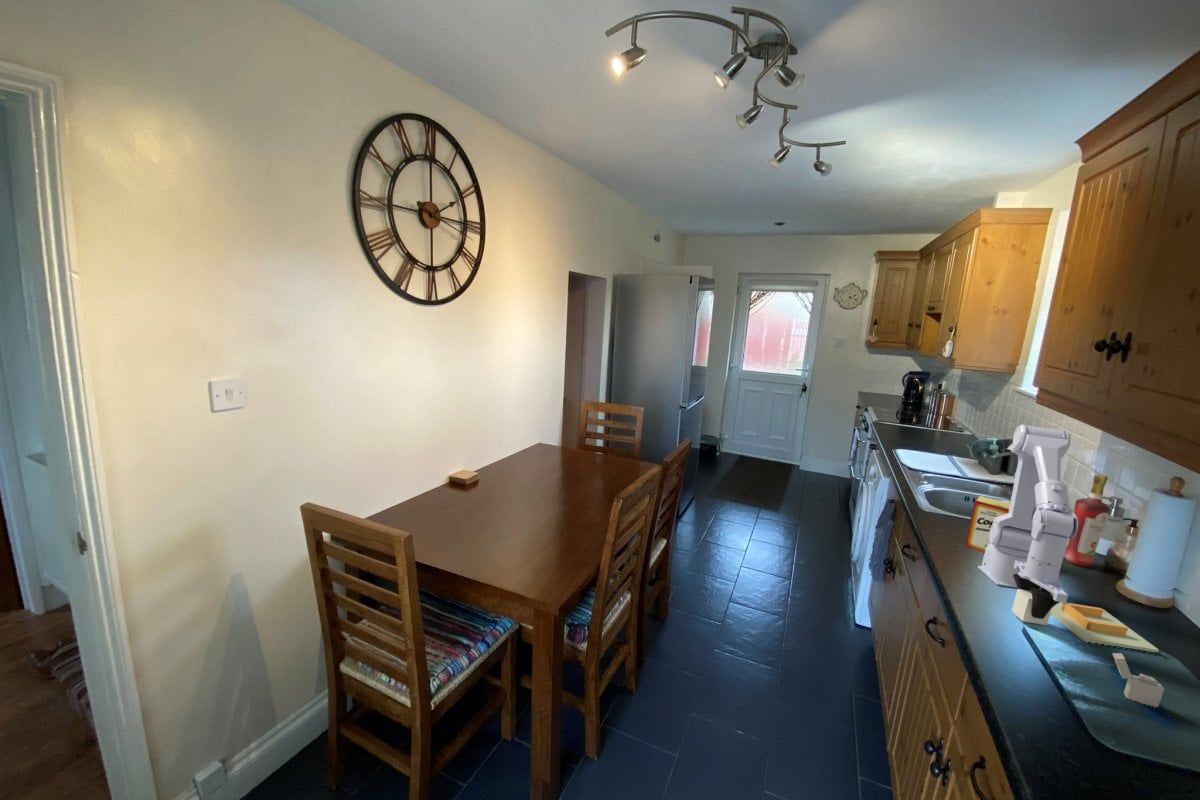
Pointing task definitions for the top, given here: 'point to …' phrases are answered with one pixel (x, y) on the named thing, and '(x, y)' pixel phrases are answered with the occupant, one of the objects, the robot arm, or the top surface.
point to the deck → (1098, 626)
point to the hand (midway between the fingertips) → (1030, 611)
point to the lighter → (1139, 684)
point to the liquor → (1088, 524)
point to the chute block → (1026, 608)
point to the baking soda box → (984, 521)
